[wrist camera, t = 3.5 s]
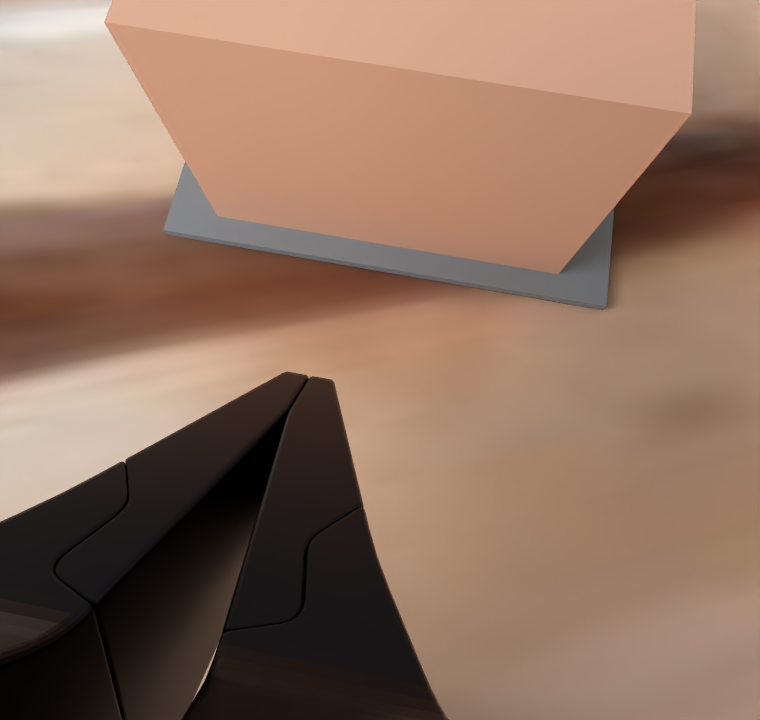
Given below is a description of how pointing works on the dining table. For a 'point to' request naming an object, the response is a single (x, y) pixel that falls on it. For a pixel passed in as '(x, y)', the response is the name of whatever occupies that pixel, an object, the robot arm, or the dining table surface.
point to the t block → (418, 113)
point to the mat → (399, 253)
